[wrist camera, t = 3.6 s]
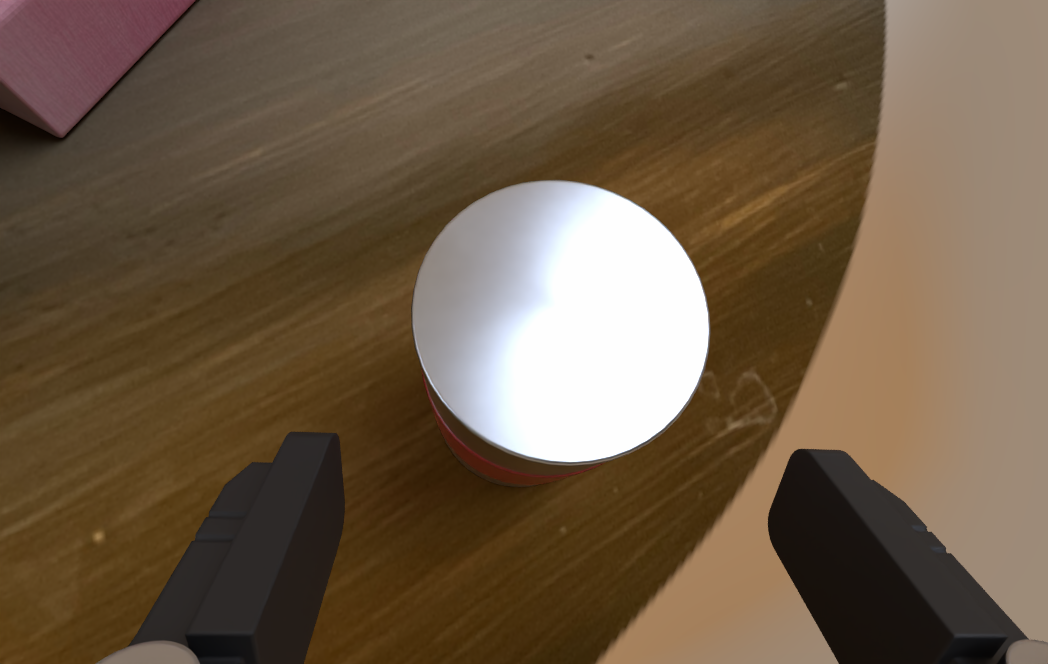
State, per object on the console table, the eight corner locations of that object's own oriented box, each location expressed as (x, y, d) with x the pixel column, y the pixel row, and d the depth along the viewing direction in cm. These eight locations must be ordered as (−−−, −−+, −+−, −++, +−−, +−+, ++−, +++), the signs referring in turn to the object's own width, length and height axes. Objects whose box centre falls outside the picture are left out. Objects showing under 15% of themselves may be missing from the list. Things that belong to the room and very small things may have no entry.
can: (627, 374, 21) (757, 264, 12) (552, 521, 19) (635, 532, 10) (489, 295, 22) (507, 129, 12) (401, 433, 20) (343, 362, 10)
